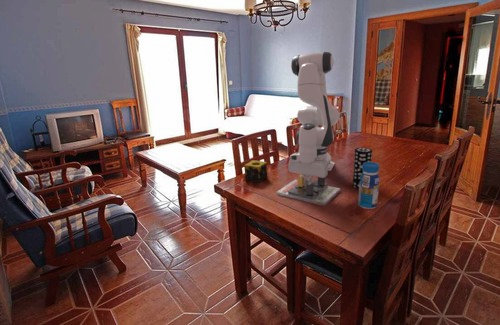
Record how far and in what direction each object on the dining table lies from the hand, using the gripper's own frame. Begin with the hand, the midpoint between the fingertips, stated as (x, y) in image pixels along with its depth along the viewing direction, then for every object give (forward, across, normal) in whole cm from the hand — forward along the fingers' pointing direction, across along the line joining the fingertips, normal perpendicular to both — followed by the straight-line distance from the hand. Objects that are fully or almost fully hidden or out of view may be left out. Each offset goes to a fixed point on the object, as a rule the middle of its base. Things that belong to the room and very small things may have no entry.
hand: (307, 182), depth 149 cm
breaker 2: (+2, -5, +7) cm, 9 cm away
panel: (+6, -1, 0) cm, 6 cm away
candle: (+6, +34, -3) cm, 35 cm away
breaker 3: (+2, -5, -7) cm, 9 cm away
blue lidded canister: (+6, -30, 0) cm, 31 cm away
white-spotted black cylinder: (+6, -21, -22) cm, 31 cm away
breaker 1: (+2, +3, 0) cm, 4 cm away
